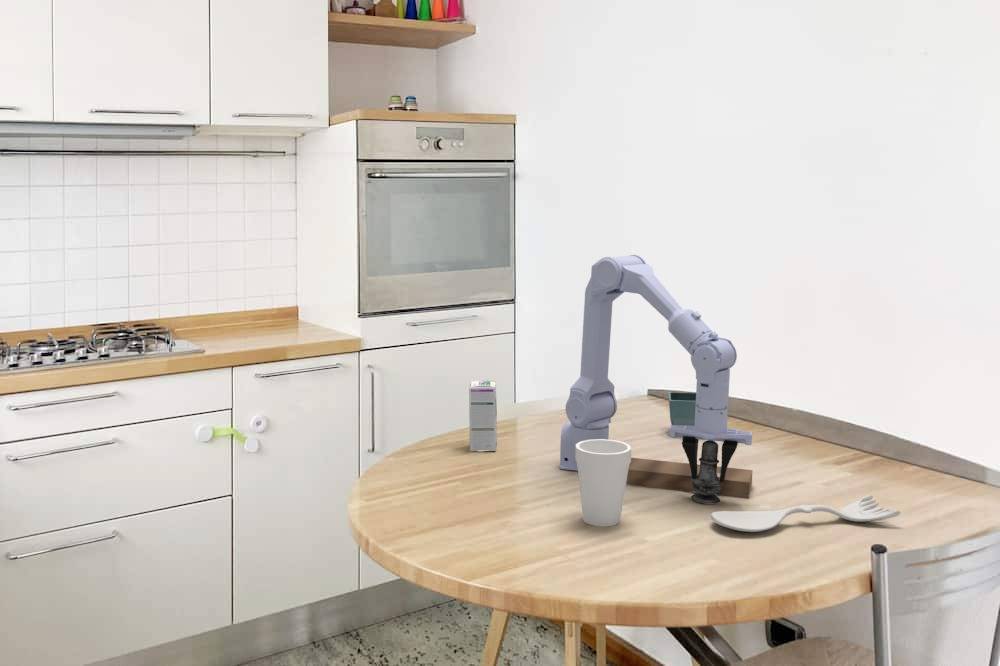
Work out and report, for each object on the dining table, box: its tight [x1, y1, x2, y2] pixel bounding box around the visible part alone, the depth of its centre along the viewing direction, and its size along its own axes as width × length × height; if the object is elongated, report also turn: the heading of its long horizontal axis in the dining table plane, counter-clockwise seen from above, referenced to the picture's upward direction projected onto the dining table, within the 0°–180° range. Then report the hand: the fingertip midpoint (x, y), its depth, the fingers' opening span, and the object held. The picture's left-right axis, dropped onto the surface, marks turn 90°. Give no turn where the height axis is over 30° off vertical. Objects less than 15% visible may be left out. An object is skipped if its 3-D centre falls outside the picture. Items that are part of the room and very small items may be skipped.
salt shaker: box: [690, 440, 724, 505], centre depth 171 cm, size 6×6×12 cm
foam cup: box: [575, 439, 632, 528], centre depth 160 cm, size 10×9×13 cm
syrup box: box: [468, 380, 498, 452], centre depth 202 cm, size 6×6×14 cm
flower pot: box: [668, 391, 696, 426], centre depth 216 cm, size 9×9×9 cm
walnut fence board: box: [626, 457, 753, 499], centre depth 180 cm, size 24×8×3 cm, turn 71°
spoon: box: [710, 494, 901, 533], centre depth 160 cm, size 9×32×4 cm, turn 101°
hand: (708, 478), depth 171 cm, fingers open, 4 cm apart
